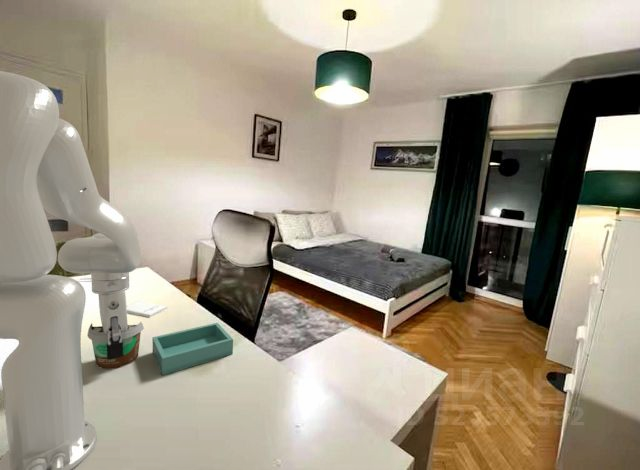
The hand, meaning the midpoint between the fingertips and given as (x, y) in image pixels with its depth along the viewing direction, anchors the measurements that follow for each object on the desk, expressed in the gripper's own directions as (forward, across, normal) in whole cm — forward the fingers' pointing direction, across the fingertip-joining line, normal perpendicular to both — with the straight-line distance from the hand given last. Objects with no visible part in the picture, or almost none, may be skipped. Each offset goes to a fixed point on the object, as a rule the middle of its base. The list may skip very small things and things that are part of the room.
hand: (113, 349), depth 76 cm
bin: (+4, -5, -18) cm, 19 cm away
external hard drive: (+5, +32, -12) cm, 34 cm away
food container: (+4, 0, 0) cm, 4 cm away
